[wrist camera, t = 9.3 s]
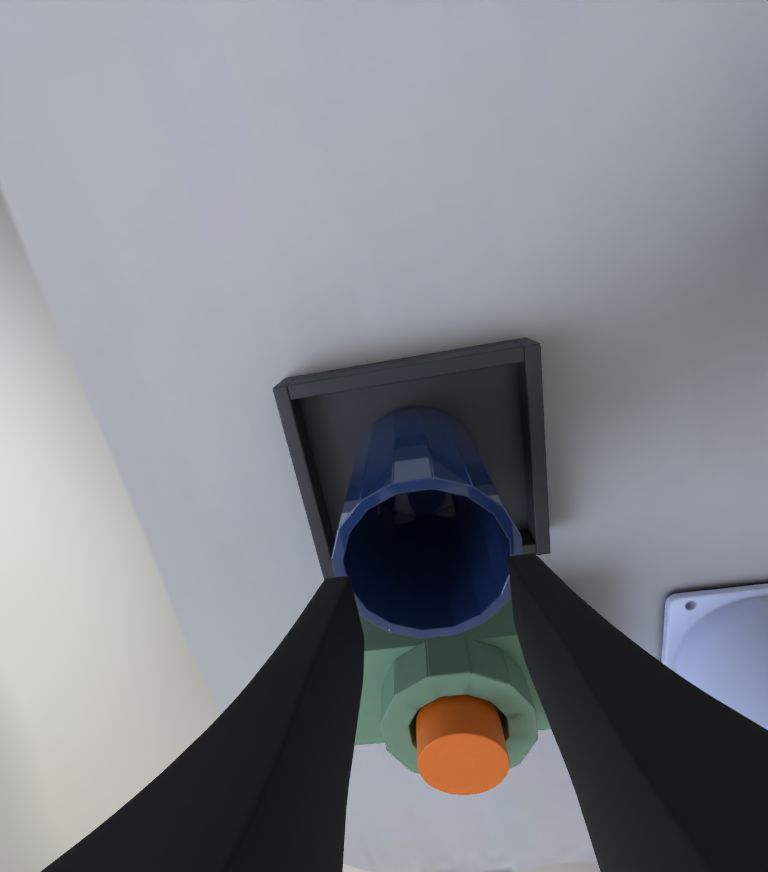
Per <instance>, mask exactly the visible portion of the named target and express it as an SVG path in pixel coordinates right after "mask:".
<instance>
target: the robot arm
mask: <svg viewBox="0 0 768 872" xmlns="http://www.w3.org/2000/svg"><path fill="white" fill-rule="evenodd" d="M508 564H509V575H510V586H511V597H512V609H513V620H514V625H515V629H516V632H517V636H518V639H519V643H520V646H521V650H522V653H523V657H524V660H525V664H526V666H527V669H528V671H529V674H530V677H531V679H532V682H533V684H534V687H535V689H536V692H537V694H538V697H539V699H540V702H541V704H542V707H543V709H544V712H545V714H546V717H547V719H548V722H549V724H550V727H551V729H552V732H553V734H554V737H555V739H556V742H557V744H558V747H559V749H560V752H561V754H562V757H563V759H564V762H565V764H566V767H567V769H568V772H569V775H570V778H571V780H572V783H573V786H574V789H575V791H576V794H577V797H578V800H579V804H580V807H581V810H582V813H583V816H584V820H585V823H586V826H587V829H588V832H589V836H590V839H591V842H592V845H593V848H594V851H595V855H596V858H597V861H598V865H599V868H600V871H601V872H768V584H759V585H749V586H740V587H731V588H722V589H713V590H703V591H694V592H685V593H676V594H672V595H670V596H669V597H668V598H667V599H666V602H665V613H664V629H663V644H662V659H661V662H660V661H659V660H657V659H656V658H654V657H653V656H652V655H650V654H649V653H648V652H646V651H645V650H644V649H642V648H641V647H640V646H638V645H637V644H636V643H634V642H633V641H632V640H631V639H629V638H628V637H627V636H626V635H624V634H623V633H622V632H620V631H619V630H618V629H617V628H615V627H614V626H613V625H612V624H611V623H609V622H608V621H607V620H606V619H605V618H603V617H602V616H601V615H600V614H599V613H598V612H596V611H595V610H594V609H593V608H592V607H591V606H590V605H588V604H587V603H586V602H585V601H584V600H583V599H581V598H580V597H579V596H578V595H577V594H576V593H575V592H574V591H573V590H572V589H571V588H569V587H568V586H567V585H566V584H565V583H564V582H563V581H562V580H561V579H560V578H559V577H558V576H557V575H556V574H555V573H554V572H553V571H552V570H551V569H550V568H549V567H548V566H547V565H546V564H545V563H544V562H543V561H542V560H541V559H540V558H539V557H538V556H536V555H535V554H534V553H531V554H523V555H515V556H508ZM688 602H689V603H688ZM364 641H365V638H364V633H363V629H362V625H361V621H360V617H359V613H358V609H357V605H356V601H355V597H354V593H353V589H352V584H351V580H350V576H342V577H333V578H326V579H325V580H324V582H323V583H322V584H321V586H320V587H319V589H318V590H317V592H316V593H315V595H314V596H313V598H312V599H311V601H310V602H309V604H308V605H307V607H306V608H305V610H304V611H303V612H302V614H301V615H300V617H299V618H298V620H297V621H296V623H295V624H294V625H293V627H292V628H291V629H290V631H289V632H288V634H287V635H286V636H285V638H284V639H283V641H282V642H281V643H280V645H279V646H278V647H277V649H276V650H275V651H274V653H273V654H272V655H271V656H270V658H269V659H268V660H267V661H266V663H265V664H264V665H263V666H262V668H261V669H260V670H259V672H258V673H257V674H256V675H255V677H254V678H253V679H252V680H251V681H250V683H249V684H248V685H247V686H246V687H245V689H244V690H243V691H242V692H241V693H240V694H239V696H238V697H237V698H236V699H235V700H234V701H233V702H232V703H231V704H230V706H229V707H228V708H227V709H226V710H225V711H224V712H223V713H222V714H221V715H220V716H219V717H218V719H217V720H216V721H215V722H214V723H213V724H212V725H211V726H210V727H209V728H208V729H207V730H206V731H205V732H204V733H203V734H202V735H201V736H200V737H199V738H198V739H197V740H196V741H194V742H193V743H192V745H190V746H189V747H188V748H187V749H186V750H185V751H184V752H183V753H182V754H181V755H180V756H179V757H178V758H177V759H176V760H175V761H174V762H173V763H172V764H171V765H170V766H169V767H167V768H166V769H165V770H164V771H163V772H162V773H161V774H160V775H159V776H157V777H156V778H155V779H154V780H153V781H152V782H151V783H150V784H148V786H146V787H145V788H144V789H143V790H142V791H141V792H139V793H138V794H137V795H136V796H135V797H134V798H133V799H131V800H130V801H129V802H128V803H126V804H125V805H124V806H123V807H122V808H121V809H120V810H118V811H117V812H116V813H115V814H114V815H112V816H111V817H110V818H109V819H107V820H106V821H105V822H104V823H103V824H101V825H100V826H99V827H98V828H96V829H95V830H94V831H93V832H91V834H89V835H88V836H86V837H85V838H84V839H82V840H81V841H80V842H79V843H78V844H76V845H75V846H74V847H72V848H71V849H70V850H68V851H67V852H66V853H64V854H63V855H62V856H60V857H59V858H58V859H57V860H55V861H54V862H53V863H52V864H50V865H49V866H47V867H46V868H45V869H44V870H42V871H41V872H342V868H343V852H344V835H345V819H346V805H347V796H348V787H349V779H350V772H351V765H352V758H353V751H354V744H355V737H356V730H357V723H358V716H359V708H360V701H361V694H362V686H363V675H364Z"/></svg>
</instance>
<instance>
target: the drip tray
mask: <svg viewBox="0 0 768 872" xmlns="http://www.w3.org/2000/svg"><path fill="white" fill-rule="evenodd" d="M273 392H274V395H275V399H276V403H277V407H278V410H279V414H280V418H281V421H282V425H283V429H284V433H285V436H286V440H287V444H288V447H289V451H290V455H291V458H292V462H293V466H294V470H295V473H296V477H297V481H298V484H299V488H300V492H301V495H302V499H303V503H304V507H305V510H306V514H307V518H308V521H309V525H310V529H311V532H312V536H313V540H314V544H315V547H316V551H317V555H318V558H319V562H320V566H321V569H322V573H323V577H324V580H325V579H326V578H333V577H335V573H334V569H333V565H332V562H331V560H332V559H331V558H332V553H333V548H334V544H335V539H336V534H337V530H338V526H339V522H340V518H341V514H342V510H343V506H344V502H345V498H346V495H347V491H348V487H349V483H350V479H351V475H352V471H353V467H354V464H355V460H356V456H357V452H358V448H359V445H360V443H361V441H362V439H363V437H364V435H365V434H366V432H367V431H368V430H369V428H370V427H371V426H372V425H373V424H374V423H375V422H376V421H377V420H378V419H380V418H381V417H383V416H384V415H386V414H388V413H390V412H392V411H394V410H397V409H400V408H405V407H410V406H427V407H433V408H436V409H440V410H442V411H445V412H447V413H449V414H451V415H452V416H454V417H455V418H457V419H458V420H459V421H460V422H461V423H462V424H463V425H464V426H465V427H466V428H467V429H468V431H469V432H470V434H471V435H472V437H473V439H474V441H475V443H476V444H477V446H478V448H479V450H480V452H481V454H482V456H483V458H484V460H485V462H486V464H487V466H488V468H489V470H490V472H491V474H492V476H493V478H494V480H495V482H496V485H497V487H498V489H499V491H500V493H501V495H502V497H503V499H504V501H505V503H506V505H507V507H508V509H509V511H510V513H511V515H512V517H513V520H514V522H515V524H516V526H517V528H518V530H519V532H520V534H521V537H522V549H523V554H531V553H534V554H535V555H536V554H537V555H542V554H549V553H550V535H549V514H548V493H547V472H546V451H545V430H544V409H543V388H542V367H541V346H540V343H538V342H535V341H533V340H530V339H528V338H521V339H515V340H509V341H503V342H497V343H491V344H485V345H479V346H473V347H467V348H462V349H456V350H450V351H444V352H438V353H432V354H426V355H420V356H414V357H408V358H402V359H396V360H391V361H385V362H379V363H373V364H367V365H361V366H355V367H349V368H343V369H337V370H331V371H325V372H320V373H314V374H308V375H302V376H296V377H290V378H285V379H283V380H282V381H281V382H280V383H279V384H277V385H276V386H275V387H274V388H273Z"/></svg>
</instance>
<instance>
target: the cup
mask: <svg viewBox="0 0 768 872" xmlns="http://www.w3.org/2000/svg"><path fill="white" fill-rule="evenodd" d="M515 555H523V549H522V537H521V534H520V532H519V530H518V528H517V526H516V524H515V522H514V520H513V517H512V515H511V513H510V511H509V509H508V507H507V505H506V503H505V501H504V499H503V497H502V495H501V493H500V491H499V489H498V487H497V485H496V482H495V480H494V478H493V476H492V474H491V472H490V470H489V468H488V466H487V464H486V462H485V460H484V458H483V456H482V454H481V452H480V450H479V448H478V446H477V444H476V443H475V441H474V439H473V437H472V435H471V434H470V432H469V431H468V429H467V428H466V427H465V426H464V425H463V424H462V423H461V422H460V421H459V420H458V419H457V418H455V417H454V416H452V415H451V414H449V413H447V412H445V411H442V410H440V409H436V408H433V407H427V406H410V407H405V408H400V409H397V410H394V411H392V412H390V413H388V414H386V415H384V416H383V417H381V418H380V419H378V420H377V421H376V422H375V423H374V424H373V425H372V426H371V427H370V428H369V430H368V431H367V432H366V434H365V435H364V437H363V439H362V441H361V443H360V445H359V448H358V452H357V456H356V460H355V464H354V467H353V471H352V475H351V479H350V483H349V487H348V491H347V495H346V498H345V502H344V506H343V510H342V514H341V518H340V522H339V526H338V530H337V534H336V539H335V544H334V548H333V553H332V558H331V559H332V560H331V562H332V565H333V569H334V573H335V577H342V576H350V580H351V584H352V589H353V593H354V597H355V601H356V605H357V609H358V613H359V615H360V616H361V617H363V618H365V619H367V620H368V621H370V622H372V623H373V624H375V625H377V626H379V627H380V628H382V629H384V630H386V631H388V632H391V633H396V634H401V635H406V636H411V637H416V638H423V639H424V638H433V637H443V636H452V635H456V634H457V635H458V634H460V633H462V632H464V631H467V630H469V629H471V628H473V627H476V626H478V625H480V624H482V623H485V622H487V620H489V619H491V618H492V617H493V616H494V615H495V614H496V613H497V612H498V611H499V610H500V609H501V608H502V607H503V606H504V605H505V604H506V603H507V602H508V601H509V600H510V599H511V586H510V575H509V564H508V556H515Z"/></svg>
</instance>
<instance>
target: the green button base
mask: <svg viewBox="0 0 768 872" xmlns="http://www.w3.org/2000/svg"><path fill="white" fill-rule="evenodd" d="M359 617H360V621H361V625H362V629H363V633H364V638H365V641H364V675H363V686H362V694H361V701H360V708H359V716H358V723H357V730H356V737H355V744H354V745H361V744H374V743H385V745H386V749H387V751H388V752H389V753H390V754H392V755H393V756H394V757H395V758H396V759H397V760H399V761H400V762H401V763H402V764H403V765H404V766H406V767H407V768H408V769H409V770H410V771H413V772H414V773H418V774H420V772H419V770H418V764H417V737H416V718H417V715H418V712H419V710H420V709H421V707H423V706H424V705H426V704H428V703H430V702H432V701H434V700H435V699H437V698H439V697H443V696H453V695H464V694H468V695H471V696H474V697H477V698H481V699H484V700H487V701H489V702H490V703H491V704H492V705H493V706H494V707H495V708H496V710H497V712H498V714H499V717H500V721H501V725H502V730H503V734H504V738H505V743H506V747H507V751H508V756H509V760H510V766H509V769H510V768H512V767H514V766H516V765H518V764H520V763H521V761H522V760H523V759H524V757H525V756H526V755H527V753H528V752H529V750H530V749H531V748H532V746H533V745H534V744H535V742H536V741H537V739H538V732H537V730H544V729H551V727H550V724H549V722H548V719H547V717H546V714H545V712H544V709H543V707H542V704H541V702H540V699H539V697H538V694H537V692H536V689H535V687H534V684H533V682H532V679H531V677H530V674H529V671H528V669H527V666H526V664H525V660H524V657H523V653H522V650H521V646H520V643H519V639H518V636H517V632H516V629H515V625H514V620H513V609H512V597H511V599H510V600H509V601H508V602H507V603H506V604H505V605H504V606H503V607H502V608H501V609H500V610H499V611H498V612H497V613H496V614H495V615H494V616H493V617H492V618H491V619H489V620H487V622H485V623H482V624H480V625H478V626H476V627H473V628H471V629H469V630H467V631H464V632H462V633H460V634H458V635H457V634H456V635H452V636H443V637H433V638H424V639H423V638H416V637H411V636H406V635H401V634H396V633H391V632H388V631H386V630H384V629H382V628H380V627H379V626H377V625H375V624H373V623H372V622H370V621H368V620H367V619H365V618H363V617H361V616H360V615H359Z"/></svg>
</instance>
